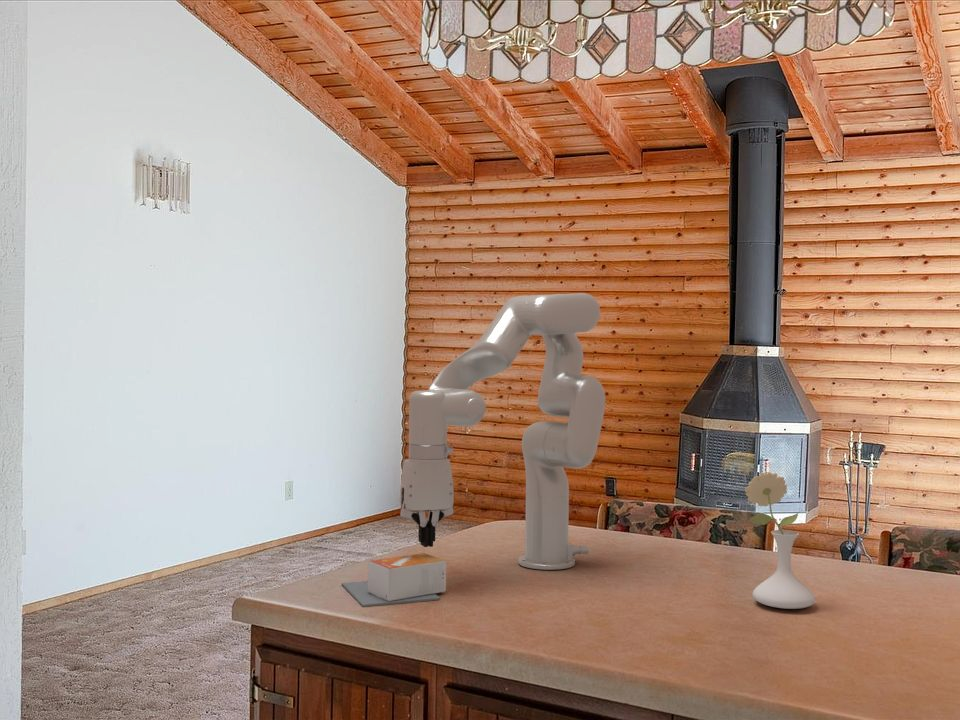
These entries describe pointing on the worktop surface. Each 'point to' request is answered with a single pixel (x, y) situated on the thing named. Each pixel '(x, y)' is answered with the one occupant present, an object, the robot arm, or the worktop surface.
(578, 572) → the worktop surface
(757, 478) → the flower in vase
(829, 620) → the worktop surface
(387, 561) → the small box
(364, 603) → the mat
